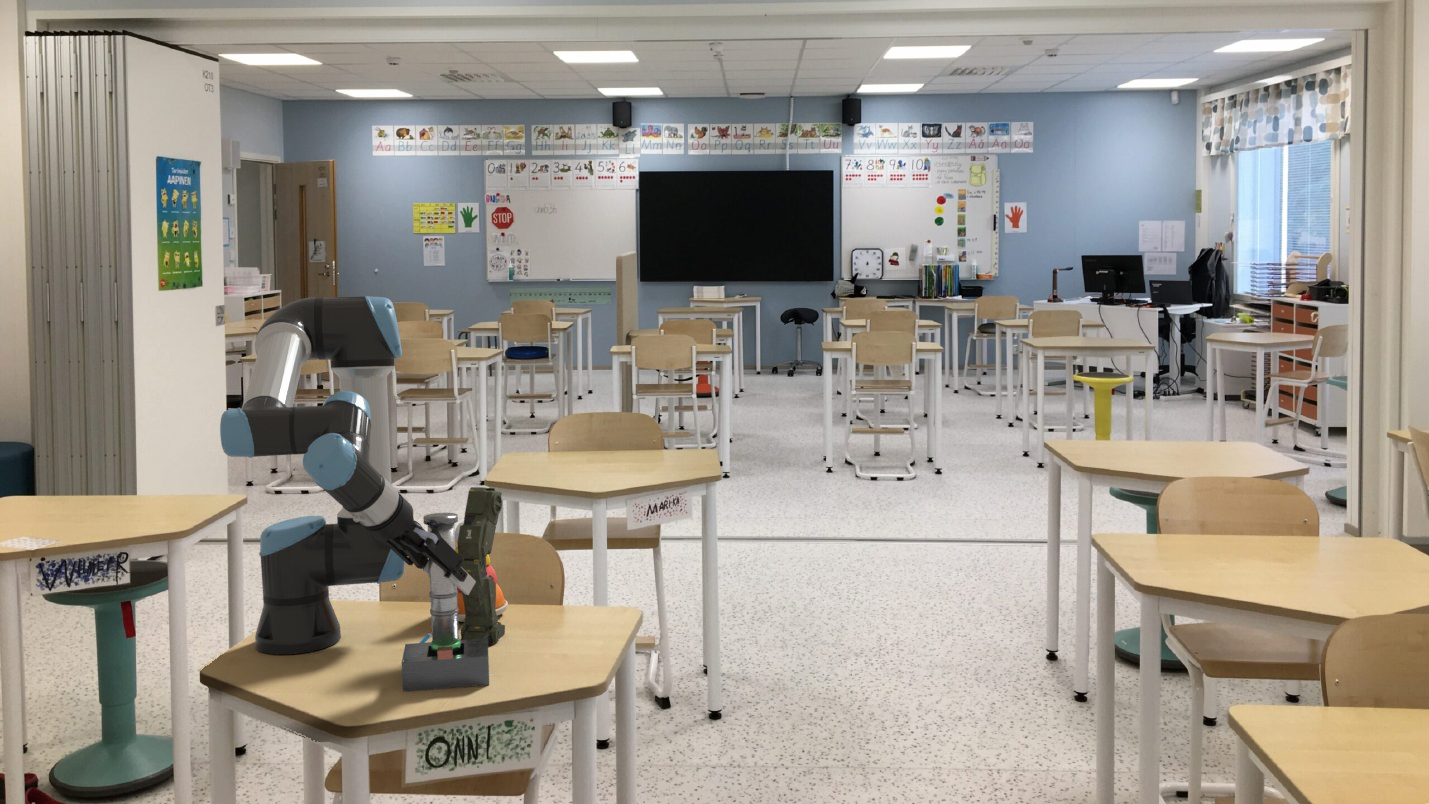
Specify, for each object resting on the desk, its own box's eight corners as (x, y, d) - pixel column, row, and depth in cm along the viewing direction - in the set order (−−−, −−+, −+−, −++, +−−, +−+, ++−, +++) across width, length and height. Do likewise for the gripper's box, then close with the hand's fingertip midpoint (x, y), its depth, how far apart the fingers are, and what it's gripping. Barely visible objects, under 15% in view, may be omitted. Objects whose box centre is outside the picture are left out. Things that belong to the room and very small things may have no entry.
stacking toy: (522, 611, 236) (519, 517, 234) (473, 630, 224) (469, 531, 222) (471, 602, 244) (468, 511, 241) (421, 619, 232) (417, 523, 229)
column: (429, 645, 199) (424, 513, 196) (463, 642, 200) (458, 511, 197) (428, 655, 193) (422, 520, 191) (462, 652, 194) (457, 518, 192)
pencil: (432, 635, 222) (432, 632, 222) (404, 665, 205) (404, 661, 205) (428, 635, 222) (428, 632, 222) (400, 665, 205) (400, 661, 205)
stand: (406, 672, 200) (405, 635, 200) (488, 665, 203) (487, 629, 202) (402, 692, 191) (401, 653, 190) (489, 685, 193) (487, 647, 193)
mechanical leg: (479, 653, 207) (489, 485, 211) (442, 651, 209) (452, 484, 212) (508, 647, 221) (517, 490, 224) (472, 645, 222) (482, 489, 226)
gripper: (331, 522, 185) (413, 597, 201) (407, 534, 176) (487, 612, 192) (355, 484, 189) (434, 561, 205) (431, 494, 180) (507, 573, 196)
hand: (459, 585), depth 198 cm, fingers closed on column, 4 cm apart
